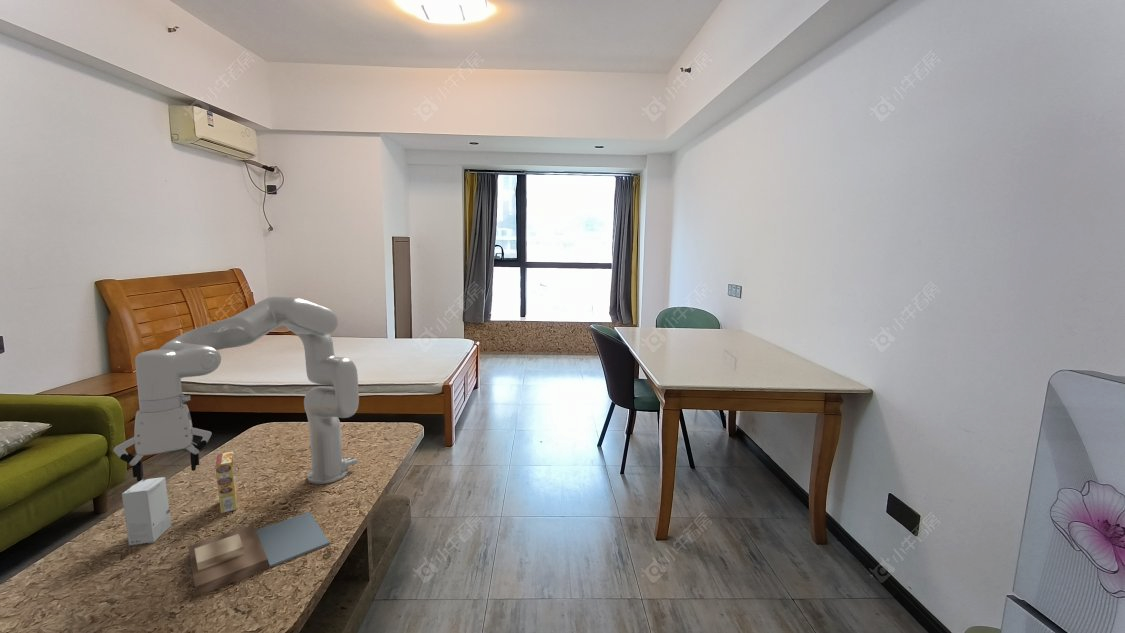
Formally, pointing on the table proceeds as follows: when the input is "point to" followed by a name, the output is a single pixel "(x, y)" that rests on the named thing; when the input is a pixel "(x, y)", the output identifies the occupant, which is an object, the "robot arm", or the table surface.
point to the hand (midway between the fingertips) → (167, 473)
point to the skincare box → (146, 510)
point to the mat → (291, 538)
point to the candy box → (226, 482)
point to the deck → (229, 562)
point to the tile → (218, 551)
